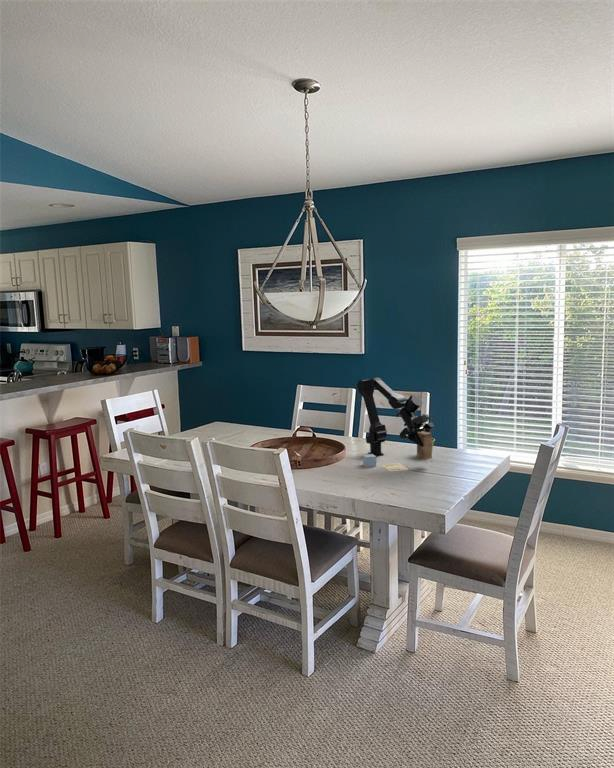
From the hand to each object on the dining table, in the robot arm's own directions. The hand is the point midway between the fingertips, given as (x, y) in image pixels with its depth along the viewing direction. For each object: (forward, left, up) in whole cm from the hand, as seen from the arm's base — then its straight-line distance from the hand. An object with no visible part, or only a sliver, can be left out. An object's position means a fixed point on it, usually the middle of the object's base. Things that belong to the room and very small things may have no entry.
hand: (426, 445), depth 274 cm
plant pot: (-20, +9, -11) cm, 25 cm away
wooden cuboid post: (-1, -1, -6) cm, 7 cm away
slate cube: (-13, -23, -11) cm, 29 cm away
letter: (-6, -13, -11) cm, 18 cm away
